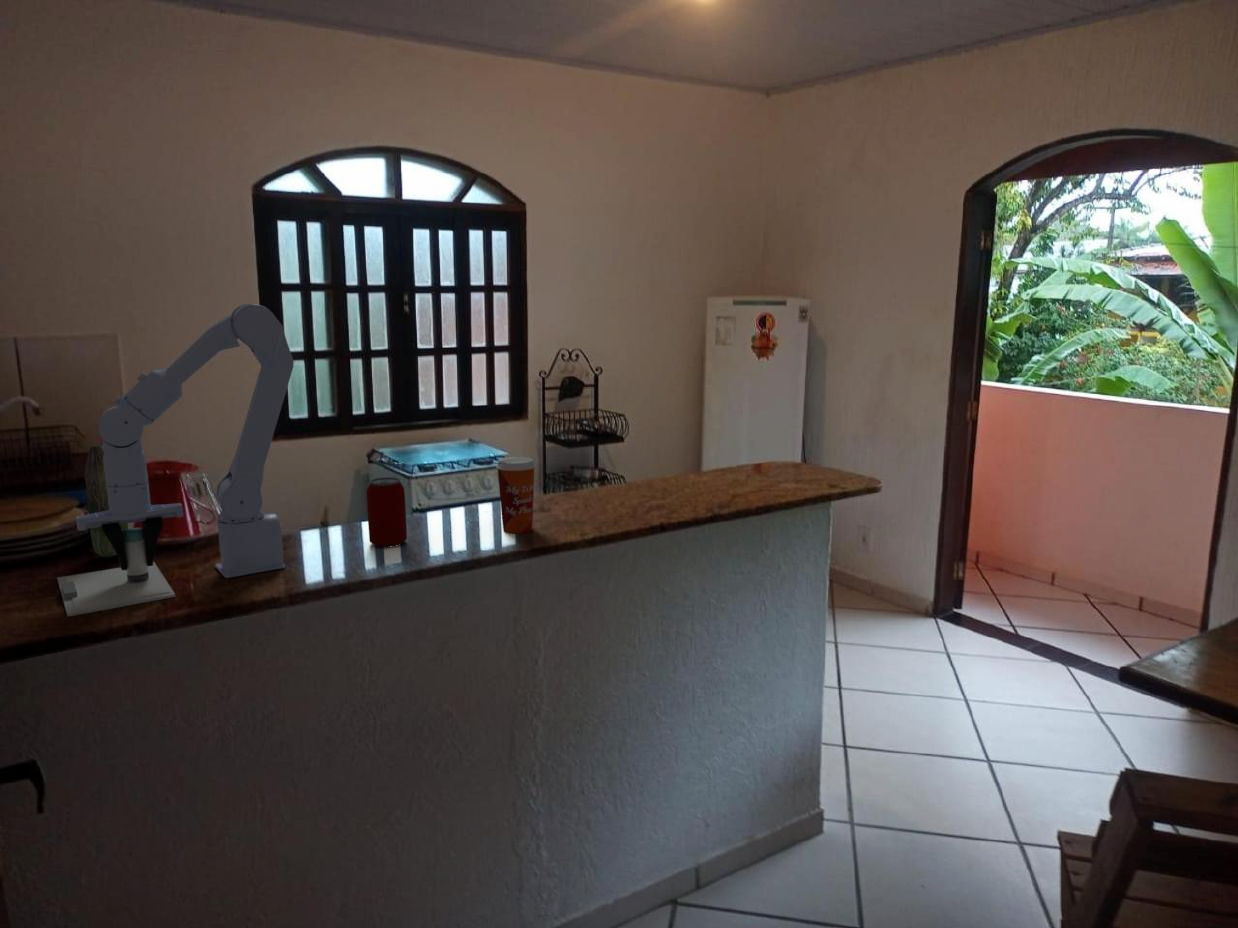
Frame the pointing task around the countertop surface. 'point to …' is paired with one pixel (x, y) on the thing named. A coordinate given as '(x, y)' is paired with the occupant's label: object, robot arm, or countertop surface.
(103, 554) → the vegetable
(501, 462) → the paper cup
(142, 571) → the white cylinder
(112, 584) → the clipboard
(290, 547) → the countertop surface
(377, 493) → the beverage can
